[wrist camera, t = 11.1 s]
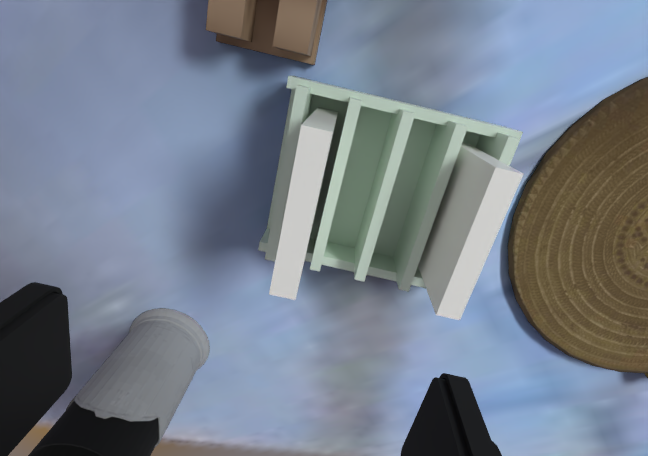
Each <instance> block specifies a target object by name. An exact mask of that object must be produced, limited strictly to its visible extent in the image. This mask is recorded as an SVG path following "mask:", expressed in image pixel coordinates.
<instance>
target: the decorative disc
mask: <svg viewBox="0 0 648 456" xmlns="http://www.w3.org/2000/svg"><path fill="white" fill-rule="evenodd" d="M508 265H509V276H510V280H511V283H512V287H513V291H514V294H515V298H516V300H517V302H518V304H519V306H520V307H521V309H522V311H523V313H524V315H525V316H526V318H527V320H528V322H529V323H530V324H531V325H532V326H533V327H534V328H535V329H536V330H537V331H538V332H539V334H540V335H541V336H542V337H543V338H544V339H545V340H546V341H548V342H549V343H551V344H552V345H553V346H555V347H556V348H558V349H559V350H561V351H562V352H564V353H565V354H567V355H569V356H571V357H573V358H576V359H578V360H580V361H583V362H585V363H587V364H590V365H592V366H597V367H601V368H606V369H610V370H615V371H619V372H633V373H645V375H646V376H647V378H648V77H646V78H644V79H641V80H639V81H637V82H635V83H633V84H632V85H630V86H628V87H626V88H624V89H622V90H620V91H618V92H617V93H615V94H613V95H611V96H609V97H608V98H606V99H604V100H603V101H601V102H600V103H599V104H598V105H596V106H595V107H594V108H593V109H591V110H590V111H589V112H588V113H586V114H585V115H584V116H583V117H581V118H580V119H579V120H578V121H576V122H575V123H574V124H573V125H572V126H571V127H570V128H569V129H568V130H567V131H566V132H565V133H564V134H563V135H562V136H561V137H560V138H559V140H558V141H557V142H556V143H555V144H554V145H553V146H552V147H551V149H550V150H549V151H548V152H547V153H546V154H545V156H544V157H543V159H542V160H541V162H540V164H539V165H538V167H537V168H536V170H535V171H534V173H533V175H532V176H531V178H530V179H529V181H528V182H527V184H526V186H525V188H524V191H523V193H522V196H521V198H520V201H519V203H518V206H517V208H516V211H515V213H514V216H513V220H512V225H511V230H510V235H509V241H508Z"/></svg>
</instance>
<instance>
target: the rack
mask: <svg viewBox="0 0 648 456" xmlns="http://www.w3.org/2000/svg"><path fill="white" fill-rule="evenodd" d="M286 88H290V89H292V90H291V96H290V102H289V107H288V113H287V118H286V124H285V130H284V135H283V141H282V146H281V152H280V158H279V163H278V169H277V174H276V180H275V186H274V191H273V197H272V202H271V208H270V214H269V219H268V225H267V229H266V231H265V233H264V235H263V237H262V238H261V240H260V243H259V249H258V250H259V251H264V252H266V255H265V259H266V260H270V261H275V260H276V255H277V250H278V245H279V240H280V234H281V229H282V224H283V218H284V213H285V208H286V203H287V197H288V192H289V187H290V182H291V176H292V171H293V166H294V161H295V155H296V150H297V145H298V140H299V134H300V129H301V125H302V124H303V123H304V122H305V120H306V119H307V118H308V117H309V116H310V115H311V114H312V113H313V112H314V111H315V110H316V109H317V108H318V107H321V108H325V109H329V110H334V111H338V115H337V119H336V124H335V128H334V133H333V137H332V142H331V146H330V151H329V155H328V160H327V164H326V168H325V173H324V177H323V182H322V186H321V191H320V195H319V200H318V204H317V209H316V213H315V218H314V222H313V227H312V231H311V235H310V240H309V244H308V248H307V252H306V257H305V261H308V262H311V265H310V270H315V271H319V272H320V268H321V265H326V266H330V267H334V268H339V269H343V270H348V271H352V272H354V279H355V280H359V281H363V282H364V281H365V278H366V275H370V276H374V277H379V278H383V279H388V280H392V281H396V282H397V284H398V288H399V290H403V291H408V292H409V289H410V287H411V285H414V286H419V287H423V288H426V289H427V292H428V295H429V297H430V300H431V303H432V305H433V308H434V311H435V313H436V315H439V316H443V317H448V318H452V319H457V320H460V319H461V316H462V314H463V312H464V309H465V307H466V305H467V303H468V300H469V298H470V296H471V293H472V291H473V289H474V286H475V284H476V282H477V280H478V277H479V275H480V273H481V270H482V268H483V266H484V264H485V261H486V259H487V257H488V254H489V252H490V250H491V247H492V245H493V243H494V241H495V238H496V236H497V234H498V231H499V229H500V227H501V225H502V222H503V220H504V218H505V215H506V213H507V211H508V208H509V206H510V204H511V202H512V199H513V197H514V195H515V192H516V190H517V188H518V185H519V183H520V181H521V179H522V176H523V173H521V172H519V171H517V170H516V169H514V168H512V167H510V166H509V165H510V163H511V161H512V158H513V156H514V153H515V151H516V149H517V146H518V144H519V141H520V138H521V136H522V133H523V132H521V131H518V130H515V129H511V128H508V127H505V126H500V125H496V124H492V123H488V122H484V121H480V120H475V119H471V118H467V117H463V116H459V115H455V114H451V113H446V112H442V111H438V110H434V109H430V108H426V107H421V106H417V105H413V104H409V103H405V102H401V101H396V100H392V99H388V98H384V97H380V96H376V95H372V94H367V93H363V92H359V91H355V90H351V89H347V88H342V87H338V86H334V85H330V84H326V83H322V82H317V81H313V80H309V79H305V78H301V77H297V76H288V81H287V87H286Z"/></svg>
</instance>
